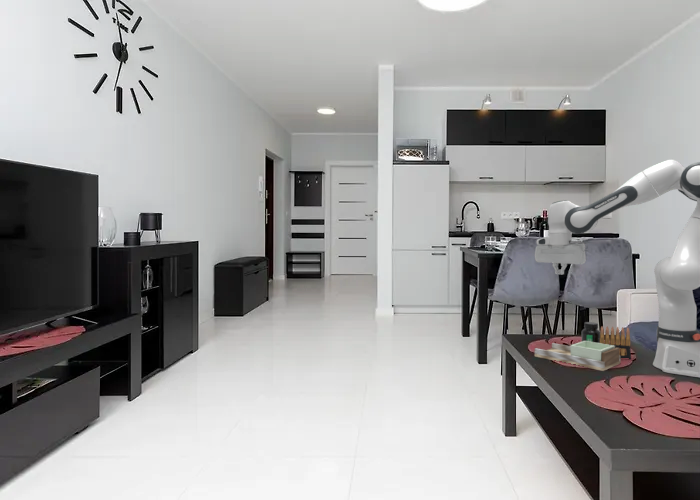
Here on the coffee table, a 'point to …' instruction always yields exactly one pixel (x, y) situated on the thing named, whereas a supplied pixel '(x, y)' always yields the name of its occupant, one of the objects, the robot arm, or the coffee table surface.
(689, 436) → the coffee table surface
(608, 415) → the coffee table surface
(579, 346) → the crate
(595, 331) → the supplement bottle
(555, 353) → the striped flat box
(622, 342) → the ammunition clip
